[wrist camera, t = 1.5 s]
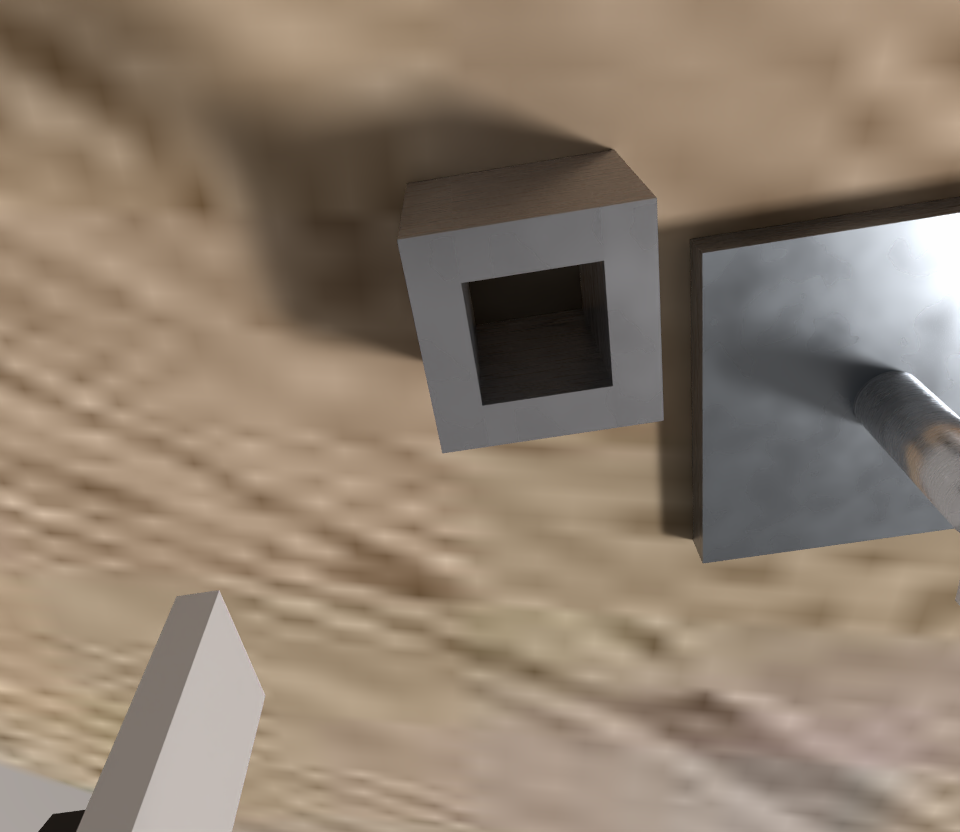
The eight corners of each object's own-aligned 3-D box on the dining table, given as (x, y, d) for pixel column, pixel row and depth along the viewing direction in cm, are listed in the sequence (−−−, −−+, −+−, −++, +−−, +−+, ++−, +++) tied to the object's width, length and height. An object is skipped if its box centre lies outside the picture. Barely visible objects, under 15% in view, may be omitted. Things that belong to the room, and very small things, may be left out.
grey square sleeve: (406, 183, 26) (397, 239, 21) (614, 149, 25) (656, 197, 20) (442, 366, 29) (442, 453, 24) (625, 338, 29) (663, 420, 24)
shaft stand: (690, 239, 27) (773, 334, 20) (1095, 175, 26) (1322, 250, 20) (693, 540, 34) (754, 686, 27) (1011, 496, 34) (1156, 633, 27)
